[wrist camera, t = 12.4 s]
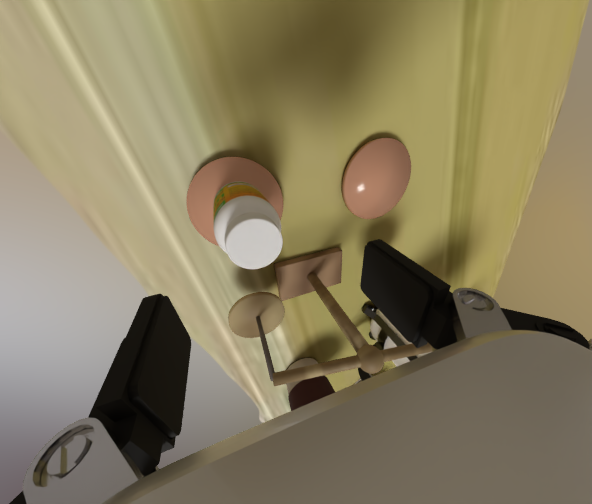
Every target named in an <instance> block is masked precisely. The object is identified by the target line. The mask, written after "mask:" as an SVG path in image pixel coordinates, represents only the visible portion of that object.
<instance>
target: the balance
mask: <svg viewBox="0 0 592 504" xmlns="http://www.w3.org/2000/svg"><path fill="white" fill-rule="evenodd" d="M274 267H275V273H276V279H277V285H278V291H279V297H280V298H279V297H277V296H276V295H274V294H272V293H268V292H256V293H251V294H249V295H246V296H244V297H242V298H241V299H239V300H238V301H237V302H236V303H235V304H234V305H233V306H232V308H231V310H230V312H229V317H228V319H229V326H230V328H231V330H232V331H233V332H234V333H235V334H237V335H239V336H241V337H246V338H254V337H259V336H260V337H261V342H262V346H263V350H264V354H265V358H266V362H267V367H268V371H269V375H270V379H271V381H273V383H274V386H278V385H282V384H287V383H291V382H296V381H300V380H305V379H309V378H314V377H319V376H323V375H328V374H332V373H337V372H341V371H346V370H350V369H355V368H361V369H362V370H363V371H365V372H367V373H370V374H375V373H378V372H379V371H380V370H381V369H382V368H383V365H384V362H387V361H391V360H396V359H401V358H405V357H410V356H414V355H419V354H423V353H428V352H432V346H431V345H430V344H429V343H427V345H424V346H422V347H419V348H416V347H415V346H414V344H413V343H412V344H407V345H403V346H398V347H393V348H389V349H384V350H379V349H378V348H377V347H375V346H373V345H369V344H368V343H367V342H366V340H365V339H364V338H363V336H362V335H361V334H360V332H359V331H358V330H357V328H356V327H355V326H354V324H353V323H352V322H351V320H350V319H349V318H348V316H347V315H346V314H345V312H344V311H343V310H342V308H341V307H340V306H339V304H338V303H337V302H336V300H335V299H334V298H333V296H332V295H331V294H330V292H329V291H328V290H327V288H326V287H329V286H332V285H335V284H338V283H341V269H342V250H341V249H340V248H339V247H336V248H332V249H328V250H325V251H321V252H317V253H313V254H309V255H305V256H301V257H298V258H294V259H290V260H286V261H282V262H278V263H275V264H274ZM312 291H316V292H317V294H318V295H319V297H320V298H321V300H322V301H323V303H324V304H325V306H326V307H327V309H328V310H329V312H330V313H331V315H332V316H333V318H334V319H335V321H336V322H337V324H338V325H339V327H340V328H341V330H342V331H343V333H344V334H345V336H346V337H347V339H348V340H349V342H350V343H351V345H352V346H353V348H354V349H355V351H356V352H357V355H356V356H351V357H346V358H342V359H337V360H332V361H328V362H323V363H318V364H314V365H309V366H304V367H299V368H295V369H290V370H285V371H281V372H276V373H275V372H274V368H273V364H272V360H271V356H270V353H269V349H268V345H267V341H266V338H265V334H267V333H269V332H271V331H273V330H274V329H275V328H276V327H277V326H278V325H279V324H280V323H281V321H282V320H283V317H284V313H285V310H284V306H283V303H282V301H283V300H287V299H290V298H293V297H296V296H300V295H303V294H306V293H309V292H312ZM280 299H281V300H280Z"/></svg>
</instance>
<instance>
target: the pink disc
mask: <svg viewBox="0 0 592 504" xmlns="http://www.w3.org/2000/svg"><path fill="white" fill-rule="evenodd" d="M410 173H411V161H410V156H409V153H408V151H407V149H406V148H405V146H404V145H403V144H402V143H401V142H399V141H398V140H395V139H392V138H378V139H374V140H372V141H370V142H368V143H366V144H365V145H363V146H362V147H361V148H360V149H359V150H358V151H357V152H356V153H355V154H354V155H353V157H352V158H351V160H350V162H349V163H348V165H347V168H346V170H345V173H344V176H343V181H342V195H343V200H344V202H345V205H346V206H347V208H348V209H349V210H350V212H352V213H353V214H354V215H356V216H358V217H360V218H363V219H374V218H377V217H380V216H382V215H384V214H386V213H387V212H389V211H390V210H391V209H392V208H393V207H394V206H395V205H396V204H397V203H398V202H399V200H400V199H401V197H402V196H403V194H404V192H405V190H406V188H407V185H408V183H409V179H410Z"/></svg>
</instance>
